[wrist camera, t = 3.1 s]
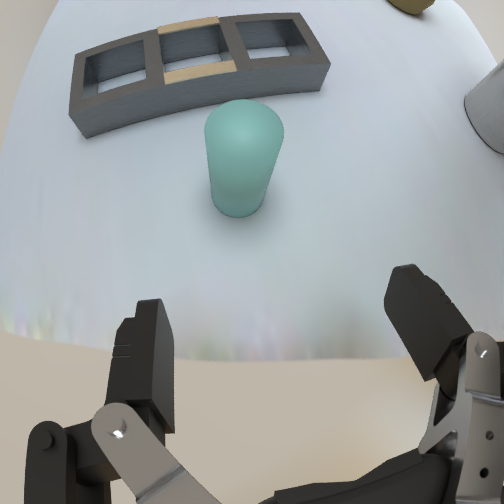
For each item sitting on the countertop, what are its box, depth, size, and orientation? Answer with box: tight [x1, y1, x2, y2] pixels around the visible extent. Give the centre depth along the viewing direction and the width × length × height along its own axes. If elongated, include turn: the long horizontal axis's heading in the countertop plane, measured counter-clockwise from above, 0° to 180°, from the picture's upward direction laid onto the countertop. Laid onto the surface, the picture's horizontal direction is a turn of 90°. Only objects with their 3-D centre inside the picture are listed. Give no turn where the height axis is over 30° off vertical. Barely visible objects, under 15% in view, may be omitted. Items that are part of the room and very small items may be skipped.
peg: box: [204, 99, 284, 218], centre depth 19 cm, size 4×4×9 cm
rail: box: [69, 13, 331, 138], centre depth 23 cm, size 22×8×4 cm, turn 104°
